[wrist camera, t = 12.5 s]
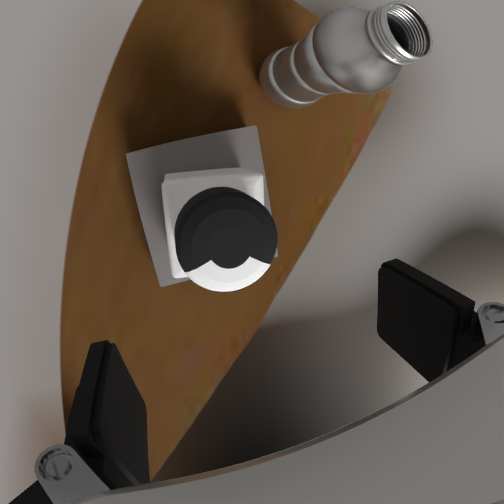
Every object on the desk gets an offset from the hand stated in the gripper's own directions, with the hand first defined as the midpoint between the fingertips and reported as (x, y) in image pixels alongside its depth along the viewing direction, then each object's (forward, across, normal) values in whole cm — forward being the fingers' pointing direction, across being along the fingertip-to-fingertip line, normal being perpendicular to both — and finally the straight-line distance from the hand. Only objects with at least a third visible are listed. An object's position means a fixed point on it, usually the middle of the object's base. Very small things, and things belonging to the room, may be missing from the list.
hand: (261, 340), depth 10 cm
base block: (+24, -1, -1) cm, 24 cm away
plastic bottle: (+24, -12, -12) cm, 30 cm away
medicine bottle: (+20, -1, 0) cm, 21 cm away
